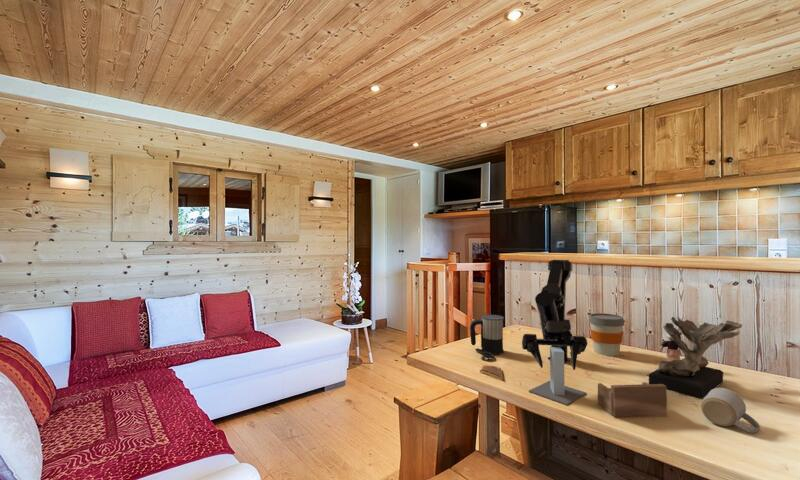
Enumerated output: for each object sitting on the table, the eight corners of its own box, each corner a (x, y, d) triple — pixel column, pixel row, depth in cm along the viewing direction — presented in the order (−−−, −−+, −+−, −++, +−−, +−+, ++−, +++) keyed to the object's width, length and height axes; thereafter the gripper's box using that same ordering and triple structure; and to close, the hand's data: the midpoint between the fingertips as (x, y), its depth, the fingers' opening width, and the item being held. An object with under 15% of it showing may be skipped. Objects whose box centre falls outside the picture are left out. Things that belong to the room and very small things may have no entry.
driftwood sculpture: (677, 368, 131) (677, 309, 131) (754, 386, 114) (753, 318, 114) (646, 384, 117) (645, 317, 117) (728, 408, 100) (727, 330, 100)
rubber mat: (549, 382, 120) (549, 380, 120) (586, 393, 110) (586, 392, 110) (528, 391, 112) (528, 390, 112) (566, 405, 103) (566, 404, 103)
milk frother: (498, 348, 158) (498, 313, 158) (514, 359, 142) (514, 322, 142) (467, 349, 156) (466, 315, 156) (479, 361, 140) (479, 323, 140)
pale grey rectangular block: (550, 387, 114) (549, 346, 114) (560, 388, 113) (560, 347, 113) (553, 394, 109) (553, 351, 109) (564, 395, 108) (564, 351, 108)
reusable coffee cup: (626, 351, 150) (626, 315, 150) (621, 359, 141) (620, 321, 141) (593, 346, 159) (593, 312, 159) (585, 353, 149) (585, 316, 149)
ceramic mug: (699, 421, 93) (699, 391, 93) (707, 411, 98) (708, 383, 98) (756, 439, 85) (756, 407, 85) (762, 428, 90) (763, 397, 90)
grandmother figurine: (683, 365, 134) (683, 331, 134) (686, 368, 130) (686, 333, 130) (658, 362, 137) (658, 329, 137) (661, 365, 134) (660, 331, 134)
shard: (503, 382, 121) (503, 377, 121) (479, 380, 122) (479, 375, 122) (501, 371, 131) (501, 366, 131) (479, 369, 133) (479, 364, 133)
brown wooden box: (597, 404, 103) (597, 376, 103) (646, 403, 104) (645, 375, 104) (614, 417, 95) (614, 387, 95) (666, 416, 96) (666, 386, 96)
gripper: (522, 308, 117) (528, 353, 106) (585, 310, 113) (597, 357, 102) (520, 327, 125) (524, 371, 114) (578, 329, 121) (589, 374, 110)
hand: (558, 368), depth 110 cm, fingers open, 9 cm apart
